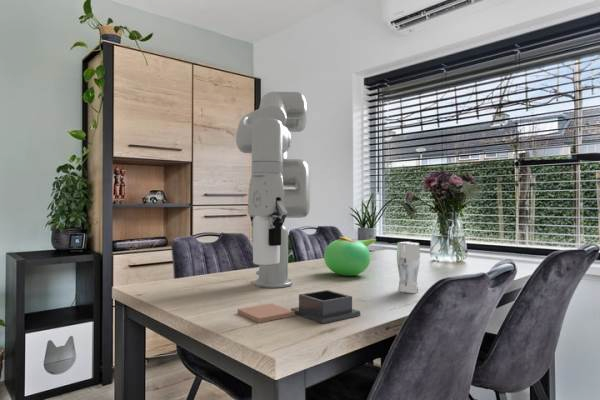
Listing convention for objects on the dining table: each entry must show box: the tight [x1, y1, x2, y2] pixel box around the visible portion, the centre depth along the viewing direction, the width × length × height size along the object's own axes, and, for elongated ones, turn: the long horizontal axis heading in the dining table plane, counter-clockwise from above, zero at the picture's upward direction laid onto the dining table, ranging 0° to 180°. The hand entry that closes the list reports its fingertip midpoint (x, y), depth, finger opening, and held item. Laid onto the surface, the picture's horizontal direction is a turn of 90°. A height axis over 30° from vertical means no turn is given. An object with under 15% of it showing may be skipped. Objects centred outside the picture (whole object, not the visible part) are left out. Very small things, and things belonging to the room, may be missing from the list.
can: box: [252, 214, 280, 266], centre depth 100 cm, size 6×6×12 cm
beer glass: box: [396, 241, 421, 294], centre depth 128 cm, size 7×7×15 cm
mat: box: [237, 302, 296, 324], centre depth 100 cm, size 10×10×1 cm
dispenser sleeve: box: [290, 289, 361, 324], centre depth 101 cm, size 12×12×4 cm
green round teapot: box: [323, 236, 377, 277], centre depth 156 cm, size 18×17×15 cm
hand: (266, 243), depth 100 cm, fingers closed on can, 6 cm apart
